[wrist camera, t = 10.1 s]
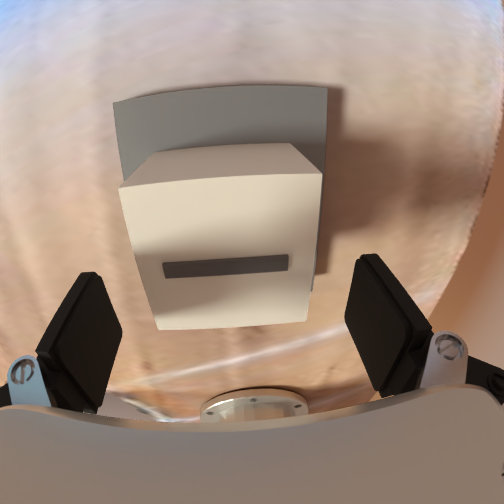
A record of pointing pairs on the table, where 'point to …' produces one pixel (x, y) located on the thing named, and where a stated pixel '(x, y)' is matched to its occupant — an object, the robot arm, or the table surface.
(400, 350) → the robot arm
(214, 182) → the cream coin box
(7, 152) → the table surface
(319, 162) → the plate
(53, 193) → the table surface
